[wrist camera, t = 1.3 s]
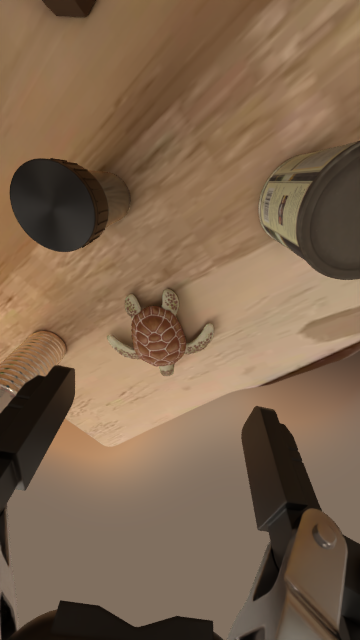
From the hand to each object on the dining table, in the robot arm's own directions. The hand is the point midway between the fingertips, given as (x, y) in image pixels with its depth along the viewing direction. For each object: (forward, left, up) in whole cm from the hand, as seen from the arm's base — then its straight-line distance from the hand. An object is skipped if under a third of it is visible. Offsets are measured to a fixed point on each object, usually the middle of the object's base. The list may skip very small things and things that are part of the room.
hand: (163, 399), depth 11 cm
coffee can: (-6, +15, -27) cm, 31 cm away
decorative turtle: (+14, -4, -27) cm, 31 cm away
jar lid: (-7, -10, -16) cm, 20 cm away
